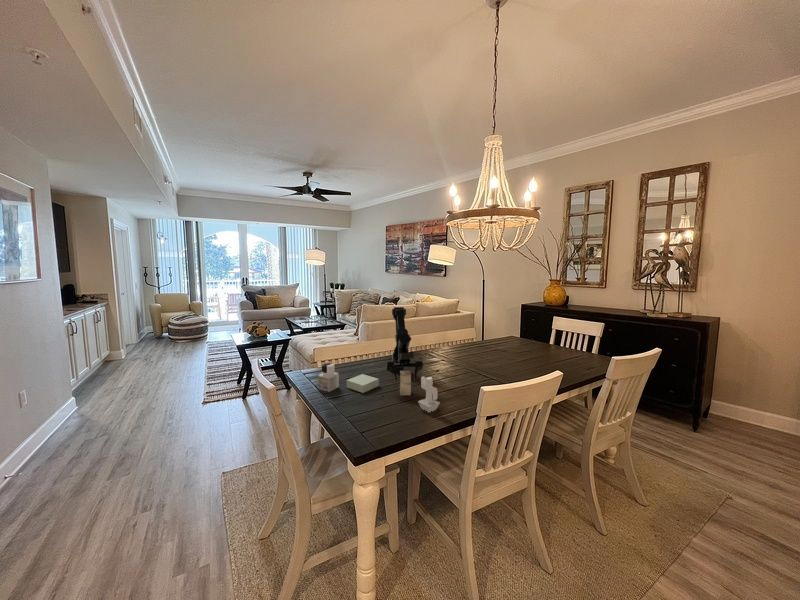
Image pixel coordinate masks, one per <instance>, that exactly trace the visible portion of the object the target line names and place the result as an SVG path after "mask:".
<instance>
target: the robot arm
mask: <svg viewBox="0 0 800 600" xmlns="http://www.w3.org/2000/svg"><path fill="white" fill-rule="evenodd" d="M391 315H392V318H393V320H394V321H395V335H394V336H395V338H394V339H395V347H394V349H393V351H392V355H391V356H392V358H391V359H392V360H391V361H390V360H388V361H387V362H386V371H388V372H389V373H391V375H392V376H393V377H394V380H395V382H397V381H398V378H397V376H398V375H397V373H398V374H400V371H407V369H406V368H414V369H413V380H414V382H415V381H416V379H417V374H418V372H420V371H421V370H423V367H424V363H423V361H422V360H415V361H414V362H413V363H411V359H414V356H415V355H414V354H415V353H414V351H410V349H409V347H410V343H411V341H412V337H411V336H410V334H409V331H408V329H407V328H406V322H405V317H406V315H407V309H406V308H404V307H403V306H398V307H397V306H394V307H393V308H392V309H391Z"/></svg>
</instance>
